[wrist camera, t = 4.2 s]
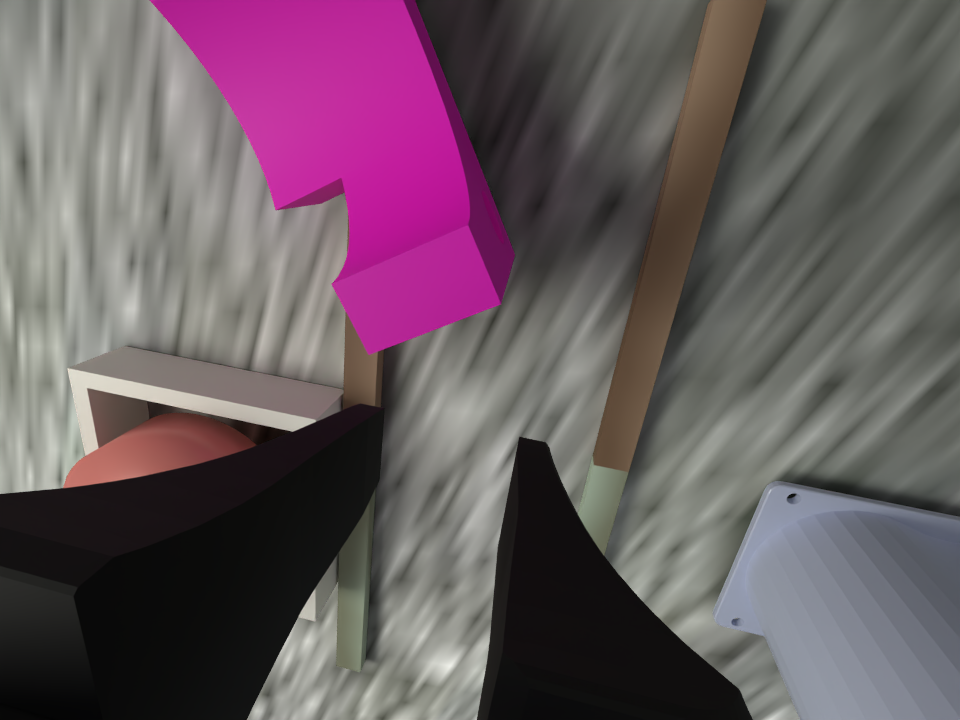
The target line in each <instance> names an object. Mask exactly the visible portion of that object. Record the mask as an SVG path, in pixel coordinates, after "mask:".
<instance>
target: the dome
mask: <svg viewBox="0 0 960 720" xmlns="http://www.w3.org/2000/svg"><path fill="white" fill-rule="evenodd" d="M254 446H257V445H256V444H255V443H254V442H253V441H251V440H250V439H249V438H248V437H246V436H245V435H243V434H242V433H240V432H239V431H237V430H236V429H234V428H232V427H230V426H228V425H226V424H225V423H223V422H220V421H217V420H215V419H212V418H209V417H206V416H202V415H198V414H191V413H168V414H162V415H159V416H155V417H153V418H151V419H149V420H147V421H145V422H143V423H141V424H140V425H138V426H136V427H134V428H133V429H131V430H129V431H128V432H126V433H124V434H122V435H121V436H119V437H117V438H116V439H114V440H112V441H110V442H109V443H107V444H105V445H103V446H102V447H100V448H98V449H97V450H95V451H93V452H91V453H90V454H88V455H86V456H85V457H83V458H82V459H81V460H79V461H78V462H77V463H76V464H75V465H74V467H73V468H72V469H71V470H70V472H69V474H68V476H67V478H66V481H65V484H64V487H63V488H69V487H77V486H84V485H91V484H98V483H105V482H112V481H118V480H124V479H129V478H135V477H141V476H146V475H150V474H155V473H159V472H164V471H168V470H173V469H177V468H182V467H186V466H191V465H195V464H199V463H203V462H206V461H210V460H213V459H217V458H220V457H224V456H227V455H230V454H234V453H237V452H240V451H243V450H246V449H249V448H252V447H254Z"/></svg>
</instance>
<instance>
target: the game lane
mask: <svg viewBox="0 0 960 720" xmlns="http://www.w3.org/2000/svg"><path fill="white" fill-rule="evenodd" d="M766 1H767V0H711V1H710V2H709V3H708V7H707V11H706V15H705V18H704V22H703V26H702V30H701V34H700V38H699V42H698V46H697V50H696V54H695V58H694V61H693V65H692V69H691V73H690V77H689V81H688V85H687V89H686V93H685V97H684V101H683V104H682V108H681V112H680V116H679V120H678V124H677V128H676V132H675V136H674V140H673V144H672V148H671V151H670V155H669V159H668V163H667V167H666V171H665V175H664V179H663V183H662V187H661V191H660V194H659V198H658V202H657V206H656V210H655V214H654V218H653V222H652V226H651V230H650V234H649V237H648V241H647V245H646V249H645V253H644V257H643V261H642V265H641V269H640V273H639V277H638V280H637V284H636V288H635V292H634V296H633V300H632V304H631V308H630V312H629V316H628V320H627V324H626V327H625V331H624V335H623V339H622V343H621V347H620V351H619V355H618V359H617V363H616V367H615V370H614V374H613V378H612V382H611V386H610V390H609V394H608V398H607V402H606V406H605V410H604V413H603V417H602V421H601V425H600V429H599V433H598V437H597V441H596V445H595V449H594V453H593V456H592V460H591V464H590V468H589V472H588V476H587V480H586V484H585V488H584V492H583V496H582V500H581V503H580V507H579V511H578V516H579V517H580V519H581V521H582V523H583V524H584V526H585V528H586V529H587V531H588V533H589V534H590V536H591V537H592V539H593V540H594V542H595V543H596V545H597V546H598V548H599V549H600V551H601V552H602V553H603V555H604V554H605V551H606V548H607V544H608V541H609V537H610V534H611V531H612V527H613V524H614V520H615V517H616V513H617V510H618V507H619V503H620V500H621V496H622V493H623V490H624V486H625V483H626V479H627V476H628V473H629V469H630V466H631V462H632V459H633V455H634V452H635V449H636V445H637V442H638V438H639V435H640V432H641V428H642V425H643V421H644V418H645V414H646V411H647V408H648V404H649V401H650V397H651V394H652V391H653V387H654V384H655V380H656V377H657V373H658V370H659V367H660V363H661V360H662V356H663V353H664V350H665V346H666V343H667V339H668V336H669V333H670V329H671V326H672V322H673V319H674V315H675V312H676V309H677V305H678V302H679V298H680V295H681V292H682V288H683V285H684V281H685V278H686V274H687V271H688V268H689V264H690V261H691V257H692V254H693V251H694V247H695V244H696V240H697V237H698V233H699V230H700V227H701V223H702V220H703V216H704V213H705V210H706V206H707V203H708V199H709V196H710V193H711V189H712V186H713V182H714V179H715V175H716V172H717V169H718V165H719V162H720V158H721V155H722V152H723V148H724V145H725V141H726V138H727V134H728V131H729V128H730V124H731V121H732V117H733V114H734V111H735V107H736V104H737V100H738V97H739V93H740V90H741V87H742V83H743V80H744V76H745V73H746V70H747V66H748V63H749V59H750V56H751V53H752V49H753V46H754V42H755V39H756V35H757V32H758V29H759V25H760V22H761V18H762V15H763V12H764V8H765V5H766ZM349 234H350V232H349V215H348V244H347V253H348V247H349ZM383 359H384V349H383V350H381V351H378V352H375V353H373V354H370V355H368V353H367V351H366V349H365V347H364V345H363V343H362V341H361V340H360V338H359V336H358V334H357V332H356V330H355V328H354V326H353V324H352V322H351V320H350V318H349V317H348V315H347V313H346V319H345V357H344V394H343V410H344V409H346V408H349V407H351V406H354V405H357V404H360V403H361V404H366V405H371V406H375V407H380V408H381V392H382V376H383ZM375 493H376V488H375V491H374V493H373V495H372V497H371V499H370V501H369V503H368V506H367V508H366V510H365V512H364V514H363V516H362V517H361V519H360V520H359V522H358V524H357V525H356V527H355V528H354V530H353V531H352V533H351V534H350V536H349V538H348V539H347V541H346V542H345V544H344V545H343V547H342V548H341V550H340V551H339V582H338V619H337V657H336V666H339V667H343V668H346V669H350V670H354V671H358V672H361V670H362V667H363V665H364V662H365V660H366V645H367V628H368V611H369V594H370V578H371V561H372V544H373V527H374V510H375Z"/></svg>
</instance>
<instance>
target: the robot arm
mask: <svg viewBox="0 0 960 720" xmlns="http://www.w3.org/2000/svg"><path fill="white" fill-rule="evenodd" d="M384 410H385V408H380V407H375V406H371V405H366V404H361V403H360V404H357V405H354V406H351V407H349V408H346V409H344V410H342V411H339V412H337V413H335V414H332V415H330V416H328V417H326V418H323V419H321V420H319V421H317V422H314V423H312V424H310V425H307V426H305V427H303V428H300V429H298V430H296V431H293V432H291V433H288V434H286V435H283V436H280V437H278V438H275V439H273V440H270V441H267V442H265V443H262V444H260V445H257V446H254V447H252V448H249V449H246V450H243V451H240V452H237V453H234V454H230V455H227V456H224V457H220V458H217V459H213V460H210V461H206V462H203V463H199V464H195V465H191V466H186V467H182V468H177V469H173V470H168V471H164V472H159V473H155V474H150V475H146V476H141V477H135V478H129V479H124V480H118V481H112V482H105V483H98V484H91V485H84V486H77V487H69V488H61V489H51V490H40V491H29V492H18V493H7V494H0V720H247V718H248V716H249V714H250V712H251V709H252V707H253V705H254V703H255V701H256V699H257V697H258V695H259V693H260V691H261V689H262V687H263V685H264V683H265V681H266V679H267V677H268V675H269V673H270V671H271V669H272V667H273V665H274V663H275V661H276V659H277V657H278V655H279V653H280V651H281V649H282V647H283V645H284V643H285V641H286V640H287V638H288V636H289V634H290V632H291V630H292V628H293V626H294V624H295V622H296V620H297V618H298V616H299V615H300V613H301V611H302V609H303V608H304V606H305V604H306V603H307V601H308V599H309V598H310V596H311V594H312V593H313V591H314V590H315V588H316V586H317V585H318V583H319V582H320V580H321V579H322V577H323V576H324V574H325V573H326V571H327V570H328V568H329V567H330V565H331V564H332V562H333V560H334V559H335V557H336V556H337V554H338V553H339V551H340V550H341V548H342V547H343V545H344V544H345V542H346V541H347V539H348V538H349V536H350V534H351V533H352V531H353V530H354V528H355V527H356V525H357V524H358V522H359V520H360V519H361V517H362V516H363V514H364V512H365V510H366V508H367V506H368V503H369V501H370V499H371V497H372V495H373V493H374V491H375V488H376V486H377V484H378V482H379V479H380V465H381V451H382V437H383V423H384ZM794 493H796V496H795V497H793V498H787V497H788V496H789V495H790V494H794ZM713 616H714V619H715V622H716V623H717V624H718V625H720V626H723V627H728V628H732V629H736V630H740V631H745V632H749V633H753V634H757V635H762V636H765V638H766V640H767V643H768V645H769V648H770V650H771V652H772V655H773V657H774V659H775V662H776V664H777V666H778V669H779V671H780V673H781V676H782V678H783V681H784V683H785V685H786V688H787V690H788V692H789V695H790V697H791V699H792V702H793V704H794V706H795V709H796V711H797V713H798V716H799V718H800V720H960V517H958V516H953V515H948V514H943V513H938V512H933V511H928V510H923V509H918V508H913V507H908V506H903V505H898V504H893V503H888V502H883V501H878V500H873V499H868V498H863V497H858V496H853V495H848V494H843V493H838V492H833V491H828V490H823V489H818V488H813V487H808V486H803V485H798V484H793V483H788V482H783V481H775V482H771V483H770V484H768V485H767V487H766V488H765V490H764V492H763V494H762V497H761V499H760V502H759V504H758V506H757V509H756V511H755V513H754V516H753V518H752V520H751V523H750V525H749V527H748V530H747V532H746V534H745V537H744V539H743V541H742V544H741V546H740V549H739V551H738V553H737V556H736V558H735V560H734V563H733V565H732V567H731V570H730V572H729V574H728V577H727V579H726V581H725V584H724V586H723V588H722V591H721V593H720V595H719V598H718V600H717V603H716V605H715V607H714V610H713ZM734 618H738V619H734ZM477 720H753V719H752V717H751V715H750V713H749V711H748V708H747V706H746V704H745V702H744V699H743V697H742V694H741V692H740V690H739V689H738V688H737V687H736V686H735V685H733V684H732V683H731V682H730V681H729V680H727V679H726V678H725V677H724V676H723V675H722V674H720V673H719V672H718V671H717V670H716V669H714V668H713V667H712V666H711V665H710V664H709V663H707V662H706V661H705V660H704V659H703V658H702V657H700V656H699V655H698V654H697V653H696V652H694V651H693V650H692V649H691V648H690V647H689V646H687V645H686V644H685V643H684V642H683V641H682V640H681V639H680V638H679V637H678V636H677V635H676V634H674V633H673V632H672V631H671V630H670V629H669V628H668V627H667V626H666V625H665V624H664V623H663V622H662V621H661V620H660V619H659V618H658V617H657V616H656V615H655V614H654V613H653V612H652V611H651V610H650V609H649V608H648V607H647V606H646V605H645V604H644V603H643V602H642V600H641V599H640V598H639V597H638V596H637V595H636V594H635V593H634V592H633V590H632V589H631V588H630V587H629V586H628V585H627V583H626V582H625V581H624V580H623V579H622V578H621V577H620V575H619V574H618V573H617V572H616V571H615V569H614V568H613V567H612V566H611V564H610V563H609V562H608V561H607V559H606V558H605V556H604V555H603V553H602V552H601V551H600V549H599V548H598V546H597V545H596V543H595V542H594V540H593V539H592V537H591V536H590V534H589V533H588V531H587V529H586V528H585V526H584V524H583V523H582V521H581V519H580V517H579V516H578V514H577V512H576V510H575V508H574V506H573V505H572V503H571V501H570V499H569V497H568V494H567V492H566V490H565V488H564V486H563V484H562V482H561V479H560V477H559V475H558V472H557V470H556V467H555V465H554V462H553V459H552V456H551V452H550V448H549V447H548V445H547V444H546V442H542V441H537V440H532V439H527V438H523V437H519V442H518V447H517V452H516V457H515V462H514V467H513V472H512V477H511V482H510V488H509V493H508V498H507V503H506V508H505V513H504V518H503V524H502V529H501V534H500V539H499V544H498V552H497V563H496V575H495V587H494V598H493V610H492V622H491V633H490V643H489V651H488V659H487V666H486V671H485V677H484V683H483V688H482V694H481V700H480V705H479V711H478V717H477Z"/></svg>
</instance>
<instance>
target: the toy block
mask: <svg viewBox="0 0 960 720" xmlns="http://www.w3.org/2000/svg"><path fill="white" fill-rule="evenodd" d="M150 1H151V2H152V3H153V5H154V6H155V7H156V8H157V9H158V10H159V11H160V12H161V14H162V15H163V16H164V17H165V18H166V19H167V21H168V22H169V23H170V24H171V25H172V26H173V28H174V29H175V30H176V31H177V33H178V34H179V35H180V36H181V38H182V39H183V40H184V41H185V42H186V44H187V45H188V46H189V47H190V49H191V50H192V51H193V53H194V54H195V55H196V57H197V58H198V59H199V61H200V62H201V63H202V65H203V66H204V68H205V69H206V70H207V72H208V73H209V75H210V76H211V78H212V79H213V81H214V82H215V83H216V85H217V86H218V88H219V89H220V91H221V93H222V94H223V96H224V97H225V99H226V100H227V102H228V103H229V105H230V107H231V108H232V110H233V112H234V114H235V115H236V117H237V119H238V120H239V122H240V124H241V126H242V128H243V130H244V131H245V133H246V135H247V137H248V139H249V141H250V143H251V145H252V147H253V149H254V151H255V154H256V156H257V158H258V160H259V163H260V165H261V167H262V170H263V172H264V175H265V177H266V180H267V183H268V186H269V189H270V192H271V195H272V199H273V202H274V206H275V210H281V209H288V208H295V207H301V206H308V205H315V204H321V203H323V202H325V201H328V200H330V199H332V198H334V197H336V196H338V195H340V194H342V193H344V192H345V196H346V201H347V207H348V215H349V232H350V234H349V247H348V253H347V258H346V261H345V264H344V267H343V269H342V270H341V272H340V274H339V276H338V277H337V278H336V280H335V281H334V282H333V283H332V286H333V288H334V290H335V292H336V294H337V295H338V297H339V299H340V301H341V303H342V305H343V307H344V309H345V311H346V313H347V315H348V317H349V318H350V320H351V322H352V324H353V326H354V328H355V330H356V332H357V334H358V336H359V338H360V340H361V341H362V343H363V345H364V347H365V349H366V351H367V353H368V355H370V354H373V353H375V352H378V351H381V350H383V349H386V348H388V347H391V346H394V345H396V344H399V343H401V342H404V341H407V340H409V339H412V338H414V337H417V336H420V335H422V334H425V333H427V332H430V331H432V330H435V329H438V328H440V327H443V326H445V325H448V324H451V323H453V322H456V321H458V320H461V319H464V318H466V317H469V316H471V315H474V314H477V313H479V312H482V311H484V310H487V309H490V308H492V307H495V306H497V305H500V304H501V302H502V299H503V295H504V292H505V288H506V285H507V282H508V278H509V275H510V271H511V268H512V264H513V261H514V257H515V253H514V250H513V248H512V245H511V243H510V240H509V238H508V235H507V233H506V230H505V228H504V225H503V223H502V220H501V217H500V215H499V212H498V210H497V207H496V205H495V202H494V200H493V197H492V195H491V192H490V190H489V187H488V184H487V182H486V179H485V177H484V174H483V172H482V169H481V167H480V164H479V162H478V159H477V157H476V154H475V151H474V149H473V146H472V144H471V141H470V139H469V136H468V134H467V131H466V129H465V126H464V124H463V121H462V118H461V116H460V113H459V111H458V108H457V106H456V103H455V101H454V98H453V96H452V93H451V91H450V88H449V86H448V83H447V80H446V78H445V75H444V73H443V70H442V68H441V65H440V63H439V60H438V58H437V55H436V53H435V50H434V47H433V45H432V42H431V40H430V37H429V35H428V32H427V30H426V27H425V25H424V22H423V20H422V17H421V14H420V12H419V9H418V7H417V4H416V2H415V0H150Z"/></svg>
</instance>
